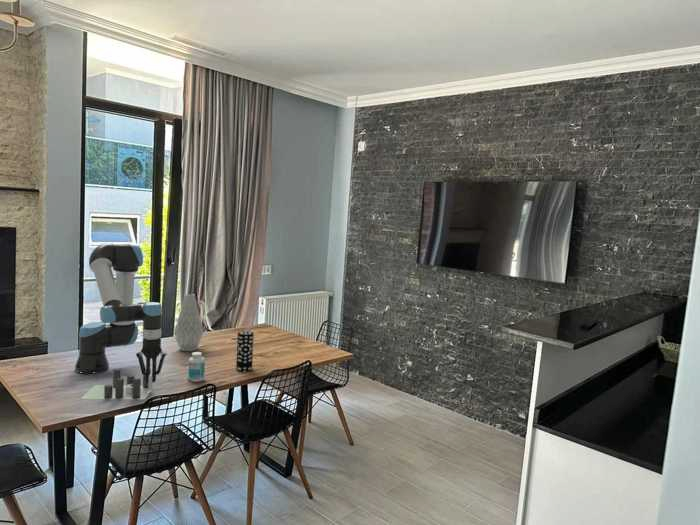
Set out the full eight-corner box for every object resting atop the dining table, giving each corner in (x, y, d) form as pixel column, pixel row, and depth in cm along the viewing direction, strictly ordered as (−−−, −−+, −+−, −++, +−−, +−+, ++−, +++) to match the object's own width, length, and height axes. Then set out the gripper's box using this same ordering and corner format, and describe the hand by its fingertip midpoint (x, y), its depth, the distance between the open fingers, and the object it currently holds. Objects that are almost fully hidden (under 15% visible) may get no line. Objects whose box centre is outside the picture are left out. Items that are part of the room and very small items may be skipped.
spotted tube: (236, 372, 262) (238, 334, 260) (235, 367, 270) (237, 331, 268) (252, 372, 264) (254, 334, 262) (251, 367, 272) (253, 330, 270)
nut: (125, 394, 221) (125, 387, 220) (129, 389, 227) (129, 383, 226) (137, 394, 221) (137, 387, 221) (141, 389, 227) (141, 383, 227)
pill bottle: (198, 376, 253) (199, 350, 251) (207, 380, 248) (208, 353, 247) (185, 379, 247) (186, 352, 245) (193, 383, 242) (194, 356, 241)
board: (80, 401, 213) (80, 398, 213) (94, 387, 230) (94, 385, 230) (144, 401, 217) (144, 399, 217) (154, 387, 234) (154, 385, 233)
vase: (206, 346, 307) (207, 293, 304) (198, 353, 291) (200, 297, 288) (178, 344, 307) (179, 291, 303) (169, 352, 290) (171, 296, 287)
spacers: (101, 398, 215) (102, 380, 214) (114, 385, 231) (114, 368, 230) (141, 398, 217) (142, 380, 216) (151, 385, 233) (151, 369, 232)
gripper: (134, 339, 218) (133, 392, 220) (165, 340, 220) (164, 392, 222) (138, 335, 225) (137, 386, 228) (169, 335, 227) (167, 386, 230)
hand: (150, 389), depth 225 cm, fingers closed
